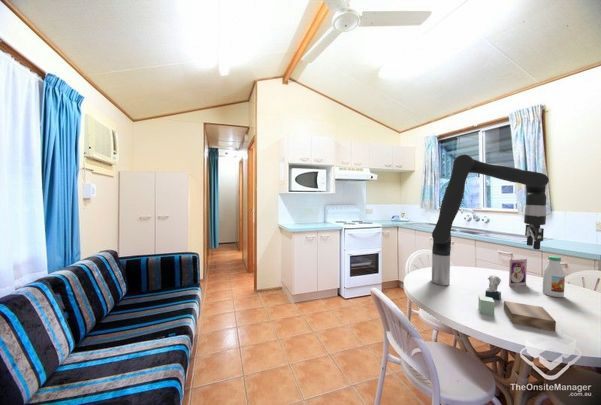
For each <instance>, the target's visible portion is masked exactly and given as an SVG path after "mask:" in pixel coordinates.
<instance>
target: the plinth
mask: <svg viewBox="0 0 601 405" xmlns="http://www.w3.org/2000/svg"><path fill="white" fill-rule="evenodd" d="M503 310H504V312H505V314H506V316H507V317H508V319H509V321H510V322H511V324H515V325H521V326H526V327H529V328H530V327H531V328H537V329H540V328H541V329H540V330H545V329H547V331H551V330H553V331H552V332H556V329H557V328H556V327H557V325H556V324H557V321H556V320H555V319H554V318H553V316H552V315H551V314H550V313H549V312H548V311H547V310H546V309H545V308H544V307H543V306H539V305H532V304H526V303H519V302H514V301H507V300H503Z"/></svg>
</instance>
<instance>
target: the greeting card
mask: <svg viewBox="0 0 601 405" xmlns="http://www.w3.org/2000/svg"><path fill="white" fill-rule="evenodd" d="M527 264H528V258H522V259H521V258H520V259H513V256H511V257H510V259H509V271H508V272H509V276H508V280H509V281H508V287H514V286H526V285H527V266H528V265H527Z"/></svg>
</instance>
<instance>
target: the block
mask: <svg viewBox="0 0 601 405" xmlns="http://www.w3.org/2000/svg"><path fill="white" fill-rule="evenodd" d="M477 303H478V305H477V306H478V311H479V313H480V314H483V315H489V316H495V310H496V309H495V306H496V304H495V299H493V298H490V297H485V296H483V295H478V302H477Z"/></svg>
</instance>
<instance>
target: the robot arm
mask: <svg viewBox="0 0 601 405" xmlns="http://www.w3.org/2000/svg"><path fill="white" fill-rule="evenodd" d="M470 173H474V174H478V175H479V174H480V175H483V176H488V177H492V178H494V179H499V180H501V181H507V182H510V183H516V184H521V185H525V186H526V198H525V208H524V218H523V223H524V224H525V232H524V235H525V238H526V246H529V247H533V248H532V249H534V250H538V251H539V250H541V243H542V242H544V233H545V232H544V231H545V230H544V227H543V228H541V226H545V225H546V221H547V220H546V219H547V194H546V186H547V185H548V184H549V182H550V180H549V176H548V175H546V174H545V173H542V172H538V171H532V170H525V169H521V168H517V167H512V166H508V165H501V164H493V163H488V162H483V161H480V160H477V159H474V158H473V157H472V156H471V155H469V154H465V153H463V154H460V155H457V156H456V157H455V158H454V160H453V164H452V168H451V176H450V179H449V181H448V184H447V186H446V188H445V191H444V193H443V196H442V197H443V198H442V200H441V204H440V209H439V215H438V219H437V221H436V224H435V226H434V228H433V231H432V232H431V237H432V247H431V248H432V250H431V251H432V252H431V284H436V285H437V286H449V285H450V283H451V282H450V280H451V278H450V277H451V275H450V274H451V248H452V246H451V245H452V233H451V232H452V226H453V223H454V220H455V218H456V217H457V214H458V212H459V210H460V208H461V205H462V203H463V202H462V201H463V199H464V198H463V197H464V194H465V188H466V187H465V186H466V181H467V178H468V176H469V174H470Z"/></svg>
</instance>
